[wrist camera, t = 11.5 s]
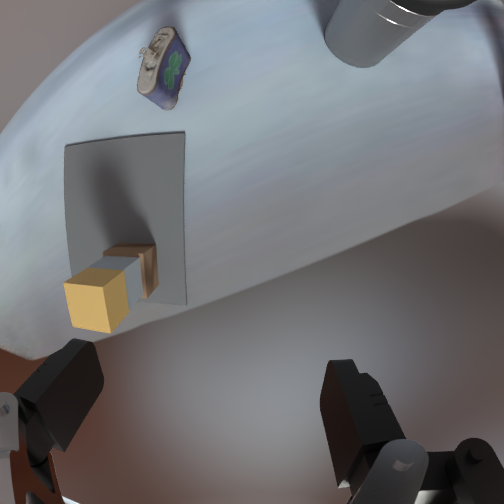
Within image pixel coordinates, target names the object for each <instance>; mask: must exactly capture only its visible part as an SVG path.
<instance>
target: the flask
mask: <svg viewBox="0 0 504 504" xmlns="http://www.w3.org/2000/svg"><path fill="white" fill-rule="evenodd" d="M145 49H146V48H142V49H141V50H140V52H139V54H142V53H143V51H144V50H145ZM143 55H144V58H143V61H142V64H141V68H140V72H139V77H138V84H137V90H138V92H139V93H140V94H142V95H143V96H145V97H146V98H148V99H149V100H150V101H152V102H154V103H155V104H157V105H158V106H159V107H161V108H162V109H163V110H171V109H173V108H174V106H175V105H176V103H177V101H178V94H179V91H180V89H181V87H182V85H183V76H184V75H186V74H185V71H186V69H187V67H188V65H189V63H190V61H191V57H190V55H189V54H188V52H187V51H186V48H185V46H184V44H183V43H182V41H181V39H180V37H179V36H178V34H177V31H176V30H175V28H174V27H164V28H161V29H160V30H159V31H158V32H157V34H156V36H155V37H154V39H153V40H152V42H151V43H150V45H149V47H148V49H147V50H146V51H145V53H144V54H143ZM139 58H141V56H139Z"/></svg>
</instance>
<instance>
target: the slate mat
mask: <svg viewBox="0 0 504 504" xmlns="http://www.w3.org/2000/svg"><path fill="white" fill-rule="evenodd" d="M184 161H185V133H180V134H163V135H150V136H138V137H129V138H120V139H111V140H104V141H97V142H90V143H84V144H78V145H72V146H67V147H65V150H64V201H65V219H66V231H67V242H68V251H69V259H70V266H71V273H72V277H73V276H75V275H77V274H78V273H80V272H81V271H83V270H85V269H86V268H87V267H88V266H90V265H92V264H93V263H95V262H97V261H98V260H100V259H102V258H103V251H105V250H107V249H109V248H111V247H113V246H114V245H116V244H118V243H135V244H156V247H157V264H158V278H159V285H158V286H157V288H156V289H155V290H154V291H153V292H152V294H151V295H150V296H149V297H148V298H140V299H139V300H138V301H139V302H150V303H162V304H175V305H187V294H186V274H185V245H184Z"/></svg>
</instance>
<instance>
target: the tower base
mask: <svg viewBox="0 0 504 504" xmlns="http://www.w3.org/2000/svg"><path fill="white" fill-rule="evenodd" d="M105 256H120V257H140V265H141V276H142V287H143V296H142V297H141V298H148V297H149V296H150V295H151V294H152V292H153V291H154V290H155V289H156V288H157V286H158V285H159V278H158V264H157V247H156V244H135V243H118V244H116V245H114V246H113V247H111V248H109V249H107V250H105V251H103V257H105Z"/></svg>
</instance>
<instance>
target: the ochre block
mask: <svg viewBox="0 0 504 504" xmlns="http://www.w3.org/2000/svg"><path fill="white" fill-rule="evenodd" d="M64 288H65V293H66V298H67V303H68V308H69V312H70V317H71V321H72V325H73V327H78V328H83V329H88V330H94V331H100V332H105V333H112V332H113V330H114V329H115V328H116V327H117V326H118V325H119V323H120V322H121V321H122V320H123V319H124V318H125V316H126V315H127V314H128V313H129V306H128V299H127V291H126V283H125V274H124V270H112V269H98V268H86V269H85V270H83V271H81V272H80V273H78V274H77V275H75V276H73V277H72V278H70V279H69V280H67V281H66V282H64Z"/></svg>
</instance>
